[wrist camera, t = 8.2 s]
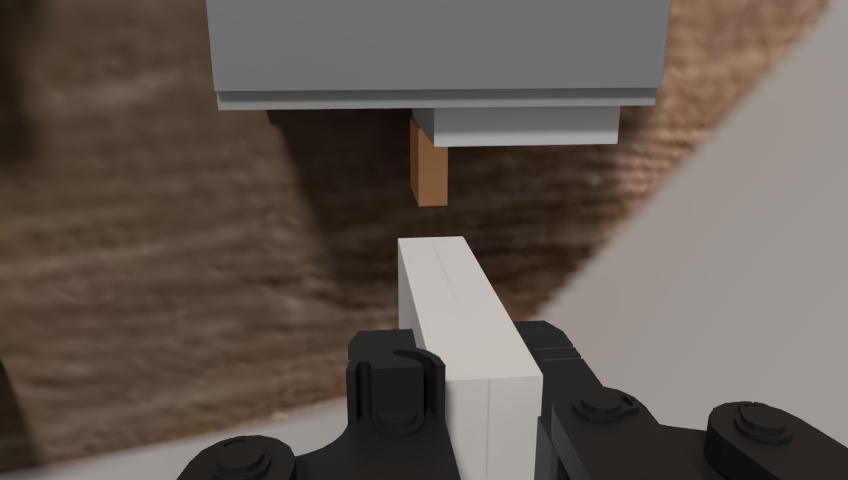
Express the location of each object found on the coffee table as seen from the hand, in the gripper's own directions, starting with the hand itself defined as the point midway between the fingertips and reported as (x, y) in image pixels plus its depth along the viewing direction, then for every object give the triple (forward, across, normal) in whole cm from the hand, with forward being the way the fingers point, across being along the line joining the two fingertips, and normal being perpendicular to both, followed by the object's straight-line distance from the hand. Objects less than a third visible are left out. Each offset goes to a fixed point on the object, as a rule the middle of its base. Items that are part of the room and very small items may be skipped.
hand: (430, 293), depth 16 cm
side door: (+16, +4, +1) cm, 17 cm away
